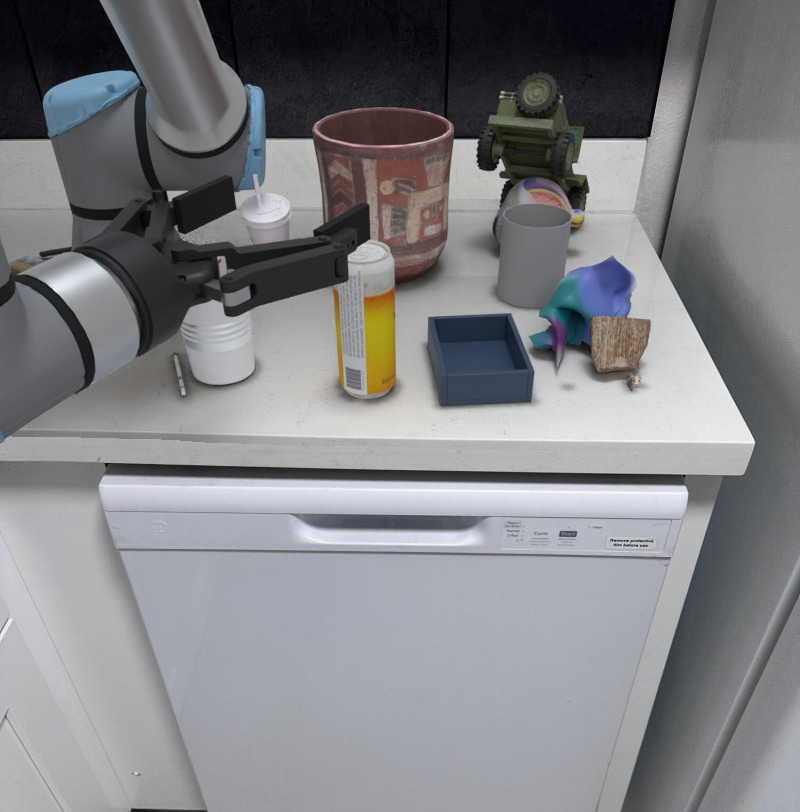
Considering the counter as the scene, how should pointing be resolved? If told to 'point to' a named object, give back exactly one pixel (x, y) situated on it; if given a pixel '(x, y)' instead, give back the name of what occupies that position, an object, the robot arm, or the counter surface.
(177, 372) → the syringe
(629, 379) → the figurine
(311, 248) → the robot arm
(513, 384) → the bin
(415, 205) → the pottery
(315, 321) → the counter surface
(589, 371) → the counter surface
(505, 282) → the cup
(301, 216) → the counter surface
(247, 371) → the white ridged cylinder
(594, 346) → the stone
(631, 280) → the figurine
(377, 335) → the beer can
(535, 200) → the anatomical model
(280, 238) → the smoothie
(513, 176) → the toy jeep
